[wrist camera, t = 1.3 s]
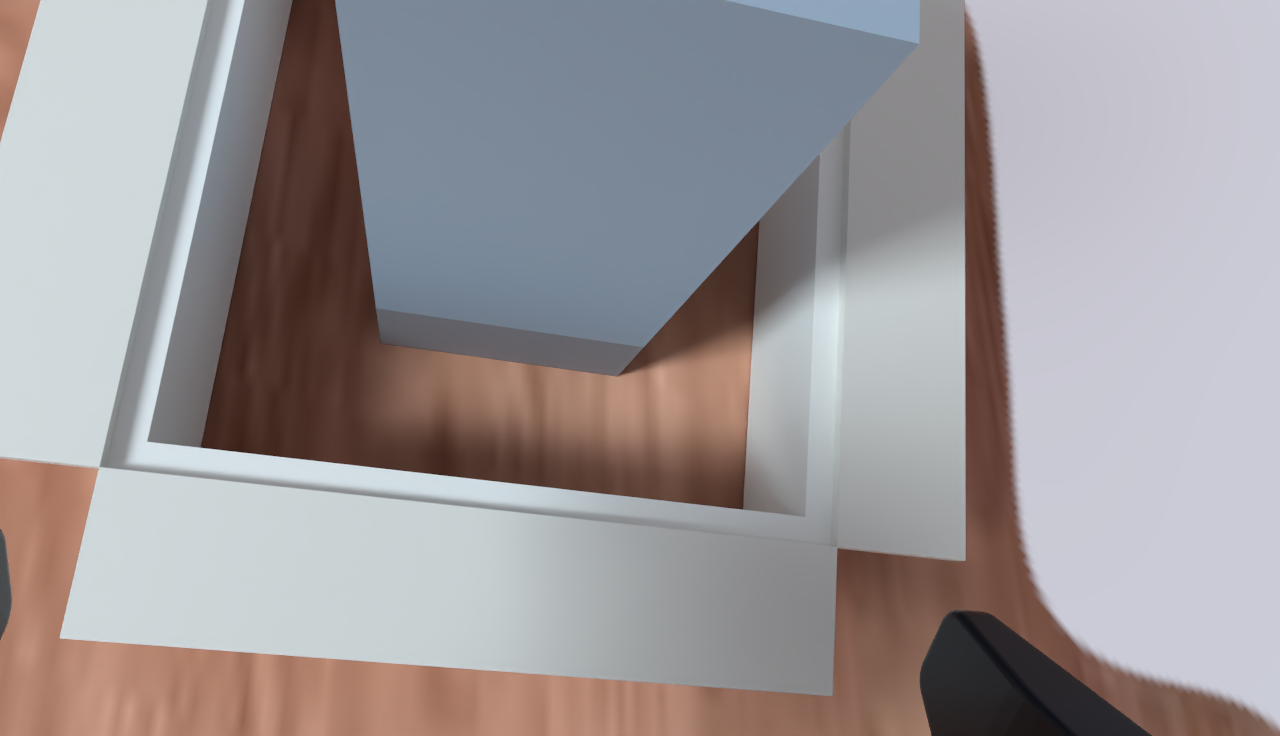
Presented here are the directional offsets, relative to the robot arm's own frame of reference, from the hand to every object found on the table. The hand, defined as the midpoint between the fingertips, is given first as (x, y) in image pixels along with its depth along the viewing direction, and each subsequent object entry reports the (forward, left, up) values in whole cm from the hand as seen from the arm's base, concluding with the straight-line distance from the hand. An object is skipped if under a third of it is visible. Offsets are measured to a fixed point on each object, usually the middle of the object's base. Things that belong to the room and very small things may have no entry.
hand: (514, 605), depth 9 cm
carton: (+5, -4, -10) cm, 12 cm away
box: (+6, -5, -10) cm, 13 cm away
